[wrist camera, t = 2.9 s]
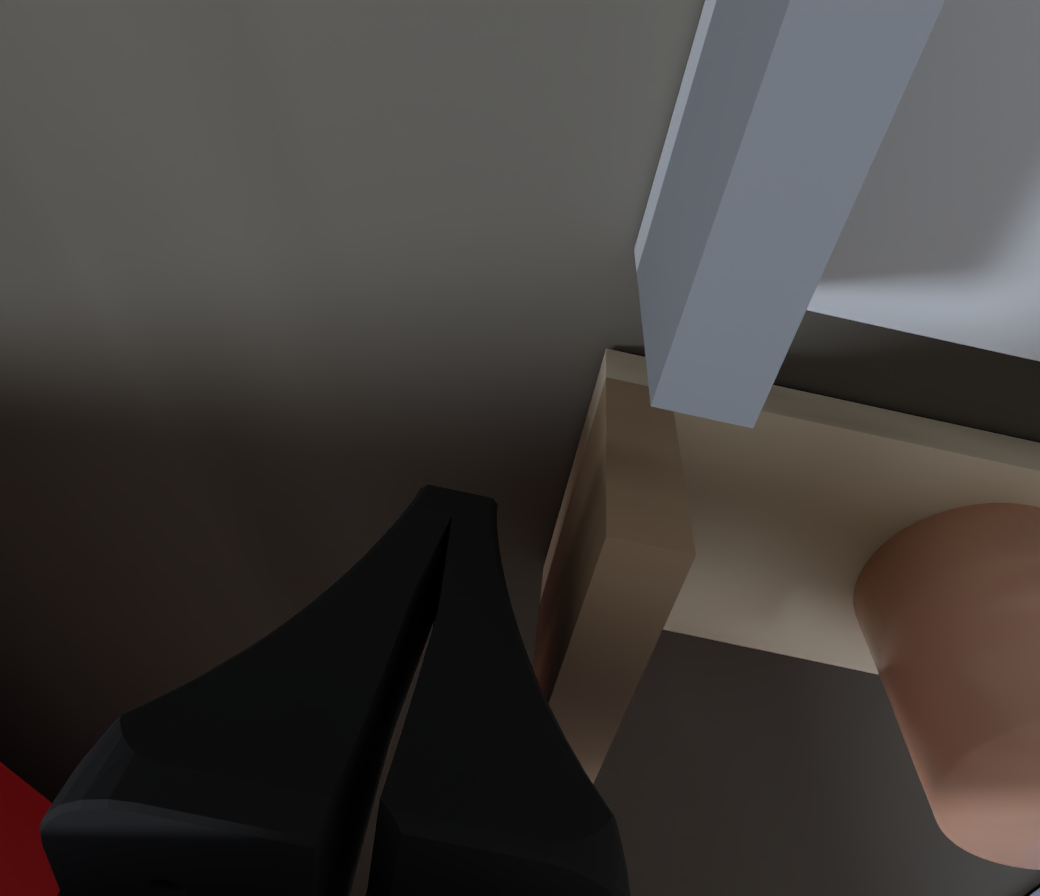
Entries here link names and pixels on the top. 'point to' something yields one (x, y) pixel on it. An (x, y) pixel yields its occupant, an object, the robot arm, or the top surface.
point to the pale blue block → (841, 188)
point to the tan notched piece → (736, 532)
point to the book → (23, 839)
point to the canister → (965, 668)
